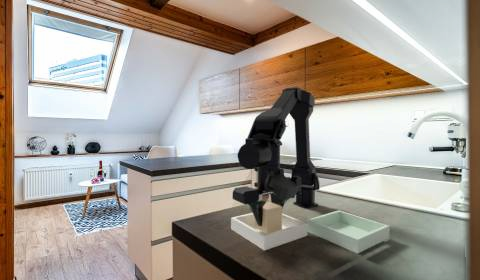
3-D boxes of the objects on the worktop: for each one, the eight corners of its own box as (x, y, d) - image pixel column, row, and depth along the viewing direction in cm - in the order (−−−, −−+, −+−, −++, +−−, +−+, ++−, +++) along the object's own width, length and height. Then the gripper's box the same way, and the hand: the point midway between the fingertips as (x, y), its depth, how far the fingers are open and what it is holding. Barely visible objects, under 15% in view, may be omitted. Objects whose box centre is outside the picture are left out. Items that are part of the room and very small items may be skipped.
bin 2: (338, 222, 72) (339, 210, 72) (389, 240, 60) (389, 225, 60) (306, 233, 64) (306, 219, 64) (357, 256, 52) (357, 239, 52)
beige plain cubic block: (269, 223, 67) (269, 201, 66) (281, 229, 62) (282, 206, 62) (254, 227, 64) (254, 204, 64) (266, 234, 60) (267, 210, 59)
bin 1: (270, 220, 73) (270, 208, 73) (307, 237, 61) (307, 223, 61) (231, 230, 65) (231, 217, 65) (264, 252, 53) (264, 236, 53)
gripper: (259, 171, 51) (258, 245, 51) (318, 165, 61) (317, 226, 62) (231, 165, 60) (231, 227, 60) (286, 160, 70) (285, 213, 71)
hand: (268, 223), depth 63 cm, fingers closed on beige plain cubic block, 5 cm apart
